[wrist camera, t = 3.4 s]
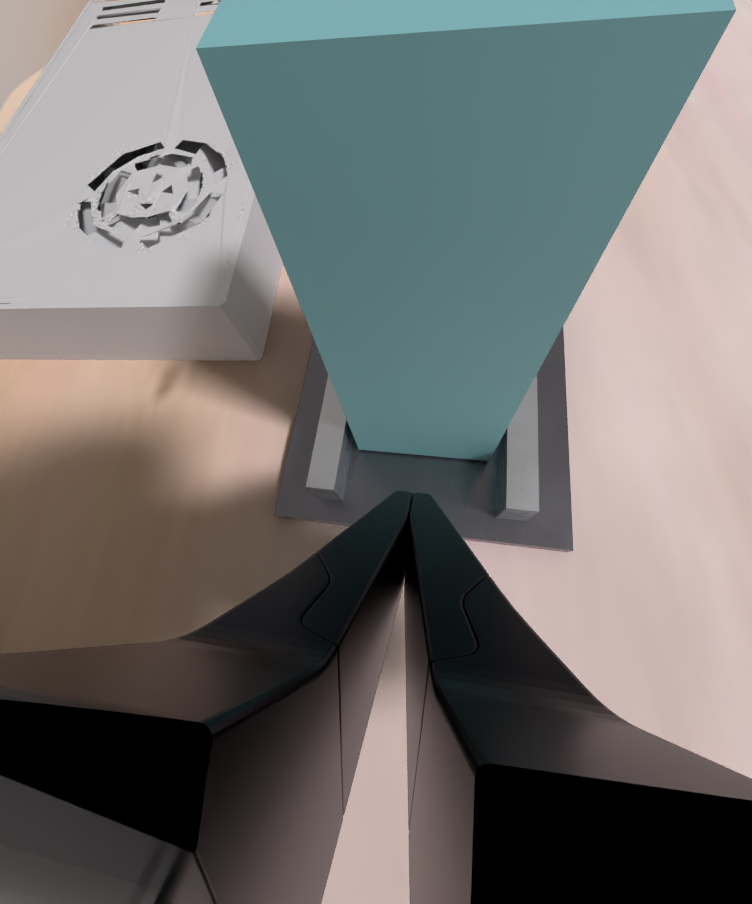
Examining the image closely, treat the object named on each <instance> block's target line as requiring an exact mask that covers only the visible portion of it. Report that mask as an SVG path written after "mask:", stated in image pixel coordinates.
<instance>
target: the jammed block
mask: <svg viewBox="0 0 752 904" xmlns="http://www.w3.org/2000/svg"><path fill="white" fill-rule="evenodd" d="M735 11H736V8H735V5H734V3H733V0H221V1H220V3H219V5H218V7H217V9H216V10H215V12H214V14H213V16H212V18H211V20H210V22H209V24H208V26H207V28H206V30H205V32H204V33H203V35H202V37H201V39H200V41H199V43H198V45H197V47H196V50H197V53H198V55H199V58H200V60H201V63H202V65H203V67H204V70H205V72H206V75H207V77H208V80H209V82H210V85H211V87H212V90H213V92H214V94H215V97H216V99H217V102H218V104H219V107H220V109H221V112H222V114H223V117H224V119H225V122H226V124H227V126H228V129H229V131H230V134H231V136H232V139H233V141H234V144H235V146H236V149H237V151H238V154H239V156H240V158H241V161H242V163H243V166H244V168H245V171H246V173H247V176H248V178H249V181H250V183H251V185H252V188H253V190H254V193H255V195H256V198H257V200H258V203H259V205H260V208H261V210H262V213H263V215H264V217H265V220H266V222H267V225H268V227H269V230H270V232H271V235H272V237H273V240H274V242H275V245H276V247H277V249H278V252H279V254H280V257H281V259H282V262H283V264H284V267H285V269H286V272H287V274H288V276H289V279H290V281H291V284H292V286H293V289H294V291H295V294H296V296H297V299H298V301H299V304H300V306H301V308H302V311H303V313H304V316H305V318H306V321H307V323H308V326H309V328H310V331H311V333H312V335H313V338H314V340H315V343H316V345H317V348H318V350H319V353H320V355H321V358H322V360H323V363H324V365H325V367H326V370H327V372H328V375H329V377H330V380H331V382H332V385H333V387H334V390H335V392H336V395H337V397H338V399H339V402H340V404H341V407H342V409H343V412H344V414H345V417H346V419H347V422H348V424H349V426H350V429H351V431H352V434H353V436H354V439H355V441H356V444H357V446H358V449H359V450H369V451H381V452H392V453H403V454H414V455H426V456H437V457H448V458H459V459H470V460H482V461H489V460H490V459H491V457H492V455H493V453H494V451H495V449H496V448H497V446H498V444H499V442H500V440H501V438H502V437H503V435H504V433H505V431H506V429H507V427H508V426H509V424H510V422H511V420H512V418H513V417H514V415H515V413H516V411H517V409H518V407H519V406H520V404H521V402H522V400H523V398H524V396H525V395H526V393H527V391H528V389H529V387H530V385H531V384H532V382H533V380H534V378H535V376H536V374H537V373H538V371H539V369H540V367H541V365H542V364H543V362H544V360H545V358H546V356H547V354H548V353H549V351H550V349H551V347H552V345H553V343H554V342H555V340H556V338H557V336H558V334H559V332H560V331H561V329H562V327H563V325H564V323H565V322H566V320H567V318H568V316H569V314H570V312H571V311H572V309H573V307H574V305H575V303H576V301H577V300H578V298H579V296H580V294H581V292H582V290H583V289H584V287H585V285H586V283H587V281H588V279H589V278H590V276H591V274H592V272H593V270H594V269H595V267H596V265H597V263H598V261H599V259H600V258H601V256H602V254H603V252H604V250H605V248H606V247H607V245H608V243H609V241H610V239H611V237H612V236H613V234H614V232H615V230H616V228H617V226H618V225H619V223H620V221H621V219H622V217H623V216H624V214H625V212H626V210H627V208H628V206H629V205H630V203H631V201H632V199H633V197H634V195H635V194H636V192H637V190H638V188H639V186H640V184H641V183H642V181H643V179H644V177H645V175H646V174H647V172H648V170H649V168H650V166H651V164H652V163H653V161H654V159H655V157H656V155H657V153H658V152H659V150H660V148H661V146H662V144H663V142H664V141H665V139H666V137H667V135H668V133H669V131H670V130H671V128H672V126H673V124H674V122H675V121H676V119H677V117H678V115H679V113H680V111H681V110H682V108H683V106H684V104H685V102H686V100H687V99H688V97H689V95H690V93H691V91H692V89H693V88H694V86H695V84H696V82H697V80H698V79H699V77H700V75H701V73H702V71H703V69H704V68H705V66H706V64H707V62H708V60H709V58H710V57H711V55H712V53H713V51H714V49H715V47H716V46H717V44H718V42H719V40H720V38H721V36H722V35H723V33H724V31H725V29H726V27H727V26H728V24H729V22H730V20H731V18H732V16H733V15H734V13H735Z"/></svg>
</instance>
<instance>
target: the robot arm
mask: <svg viewBox="0 0 752 904" xmlns="http://www.w3.org/2000/svg"><path fill="white" fill-rule="evenodd" d="M404 578H405V583H404ZM403 584H404V603H405V659H406V714H407V770H408V825H409V884H410V904H752V779H751V778H749V777H747V776H744V775H742V774H740V773H738V772H735V771H733V770H731V769H729V768H726V767H724V766H722V765H720V764H718V763H715V762H713V761H711V760H709V759H706V758H704V757H702V756H700V755H698V754H695V753H693V752H691V751H689V750H686V749H684V748H682V747H680V746H678V745H675V744H673V743H671V742H669V741H666V740H664V739H662V738H660V737H658V736H655V735H653V734H651V733H649V732H646V731H644V730H642V729H640V728H638V727H636V726H634V725H632V724H630V723H628V722H627V721H625V720H623V719H622V718H620V717H619V716H617V715H616V714H615V713H613V712H612V711H611V710H609V709H608V708H607V707H606V706H605V705H603V704H602V703H601V702H600V701H599V700H598V699H597V698H596V697H595V696H594V695H593V694H592V693H591V692H590V691H589V690H588V689H587V688H586V687H585V686H584V685H583V684H582V683H581V682H580V681H579V679H578V678H577V677H576V676H575V675H574V674H573V673H572V672H571V671H570V670H569V669H568V667H567V666H566V665H565V664H564V663H563V662H562V661H561V660H560V659H559V658H558V657H557V655H556V654H555V653H554V652H553V651H552V650H551V649H550V648H549V647H548V646H547V645H546V643H545V642H544V641H543V640H542V639H541V638H540V637H539V636H538V635H537V634H536V633H535V631H534V630H533V629H532V628H531V627H530V626H529V625H528V623H527V622H526V621H525V620H524V619H523V618H522V617H521V615H520V614H519V613H518V612H517V611H516V610H515V609H514V607H513V606H512V605H511V604H510V602H509V601H508V600H507V598H506V597H505V596H504V594H503V593H502V592H501V591H500V589H499V588H498V587H497V585H496V584H495V582H494V581H493V580H492V578H491V577H489V574H488V573H487V572H486V570H485V569H484V567H483V566H482V565H481V563H480V562H479V560H478V559H477V558H476V556H475V555H474V554H473V552H472V551H471V549H470V548H469V547H468V545H467V544H466V542H465V541H464V540H463V538H462V537H461V536H460V534H459V533H458V531H457V530H456V529H455V527H454V526H453V524H452V523H451V522H450V520H449V519H448V518H447V516H446V515H445V513H444V512H443V511H442V509H441V508H440V506H439V505H438V504H437V502H436V501H435V500H434V498H433V497H432V495H431V494H428V493H418V492H415V493H414V494H412V493H411V492H408V491H399V490H397V491H395V492H393V493H392V494H391V495H389V496H388V497H387V498H386V499H384V500H383V501H382V502H380V503H379V504H378V505H377V506H375V507H374V508H373V509H371V510H370V511H369V512H368V513H366V514H365V515H364V516H362V517H361V518H360V519H359V520H357V521H356V522H355V523H353V524H352V525H351V526H350V527H348V528H347V529H346V530H344V531H343V532H342V533H341V534H339V535H338V536H337V537H335V538H334V539H333V540H332V541H330V542H329V543H328V544H326V545H325V546H324V547H322V548H321V549H320V550H319V551H317V553H316V554H313V555H312V556H311V557H309V558H308V559H307V560H306V561H304V562H303V563H302V564H300V565H299V566H297V567H296V568H295V569H293V570H292V571H291V572H289V573H288V574H286V575H285V576H283V577H282V578H280V579H279V580H277V581H276V582H274V583H273V584H271V585H270V586H268V587H267V588H265V589H263V590H262V591H260V592H259V593H257V594H255V595H254V596H252V597H250V598H249V599H247V600H246V601H244V602H242V603H241V604H239V605H237V606H236V607H234V608H233V609H231V610H229V611H228V612H226V613H224V614H223V615H221V616H220V617H218V618H216V619H215V620H213V621H212V622H210V623H208V624H207V625H205V626H203V627H201V628H199V629H198V630H196V631H193V632H191V633H189V634H187V635H184V636H181V637H178V638H175V639H171V640H167V641H161V642H152V643H140V644H127V645H115V646H102V647H90V648H77V649H65V650H52V651H40V652H27V653H6V654H0V904H321V902H322V898H323V894H324V891H325V887H326V883H327V879H328V875H329V871H330V867H331V864H332V860H333V856H334V852H335V848H336V844H337V840H338V836H339V833H340V829H341V825H342V821H343V815H344V813H345V809H346V805H347V801H348V798H349V794H350V790H351V786H352V782H353V778H354V774H355V770H356V767H357V763H358V759H359V755H360V751H361V747H362V743H363V740H364V736H365V732H366V728H367V724H368V720H369V716H370V713H371V709H372V705H373V701H374V697H375V693H376V689H377V686H378V682H379V678H380V674H381V670H382V666H383V662H384V658H385V655H386V651H387V647H388V643H389V639H390V635H391V631H392V628H393V624H394V620H395V616H396V612H397V608H398V604H399V601H400V597H401V593H402V588H403Z"/></svg>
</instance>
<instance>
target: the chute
mask: <svg viewBox="0 0 752 904" xmlns="http://www.w3.org/2000/svg"><path fill="white" fill-rule="evenodd" d="M397 490H399V491H408V492H411V493H412V494H414V493H415V492H418V493H428V494H431V495H432V497H433V498H434V500H435V501H436V502H437V504H438V505H439V506H440V508H441V509H442V511H443V512H444V513H445V515H446V516H447V518H448V519H449V520H450V522H451V523H452V524H453V526H454V527H455V529H456V530H457V531H458V533H459V534H460V536H461V537H462V538H463V540H471V541H479V542H488V543H496V544H504V545H513V546H521V547H530V548H538V549H546V550H555V551H563V552H570V551H573V535H572V513H571V491H570V469H569V447H568V425H567V403H566V381H565V359H564V337H563V327H562V329H561V331H560V332H559V334H558V336H557V338H556V340H555V342H554V343H553V345H552V347H551V349H550V351H549V353H548V354H547V356H546V358H545V360H544V362H543V364H542V365H541V367H540V369H539V371H538V373H537V374H536V376H535V378H534V380H533V382H532V384H531V385H530V387H529V389H528V391H527V393H526V395H525V396H524V398H523V400H522V402H521V404H520V406H519V407H518V409H517V411H516V413H515V415H514V417H513V418H512V420H511V422H510V424H509V426H508V427H507V429H506V431H505V433H504V435H503V437H502V438H501V440H500V442H499V444H498V446H497V448H496V449H495V451H494V453H493V455H492V457H491V459H490V460H489V461H482V460H470V459H459V458H448V457H437V456H426V455H414V454H403V453H392V452H381V451H369V450H359V449H358V446H357V444H356V441H355V439H354V436H353V434H352V431H351V429H350V426H349V424H348V422H347V419H346V417H345V414H344V412H343V409H342V407H341V404H340V402H339V399H338V397H337V395H336V392H335V390H334V387H333V385H332V382H331V380H330V377H329V375H328V372H327V370H326V367H325V365H324V363H323V360H322V358H321V355H320V353H319V350H318V348H317V345H316V343H315V340H314V341H313V345H312V349H311V354H310V358H309V363H308V367H307V372H306V376H305V380H304V385H303V389H302V394H301V398H300V402H299V407H298V411H297V416H296V420H295V424H294V429H293V433H292V438H291V442H290V446H289V451H288V455H287V460H286V464H285V468H284V473H283V477H282V482H281V486H280V491H279V495H278V499H277V504H276V508H275V513H274V515H275V516H277V517H278V518H287V519H295V520H303V521H312V522H320V523H328V524H337V525H345V526H351V525H352V524H353V523H355V522H356V521H357V520H359V519H360V518H361V517H362V516H364V515H365V514H366V513H368V512H369V511H370V510H371V509H373V508H374V507H375V506H377V505H378V504H379V503H380V502H382V501H383V500H384V499H386V498H387V497H388V496H389V495H391V494H392V493H393V492H395V491H397Z"/></svg>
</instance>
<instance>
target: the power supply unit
mask: <svg viewBox="0 0 752 904" xmlns="http://www.w3.org/2000/svg"><path fill="white" fill-rule="evenodd" d="M220 1H221V0H120V1H112V2H107V1H106V0H89V2H88V3H87V5H86V6H85V8H84V9H83V11H82V12H81V14H80V15H79V17H78V18H77V20H76V21H75V23H74V24H73V26H72V27H71V29H70V31H69V32H68V34H67V35H66V36H65V38H64V40H63V41H62V43H61V44H60V46H59V47H58V49H57V50H56V52H55V53H54V55H53V56H52V58H51V59H50V61H49V62H48V64H47V65H46V67H45V68H44V70H43V71H42V73H41V74H40V76H39V77H38V79H37V80H36V82H35V83H34V85H33V86H32V88H31V89H30V91H29V93H28V94H27V96H26V97H25V99H24V100H23V102H22V103H21V105H20V106H19V108H18V109H17V111H16V112H15V114H14V115H13V117H12V118H11V120H10V121H9V123H8V124H7V126H6V127H5V129H4V130H3V132H2V133H1V135H0V359H32V360H216V361H259V360H260V359H262V358H263V354H264V349H265V345H266V340H267V335H268V331H269V326H270V322H271V317H272V312H273V308H274V303H275V298H276V294H277V289H278V284H279V280H280V275H281V270H282V266H283V262H282V259H281V257H280V254H279V252H278V249H277V247H276V245H275V242H274V240H273V237H272V235H271V232H270V230H269V227H268V225H267V222H266V220H265V217H264V215H263V213H262V210H261V208H260V205H259V203H258V200H257V198H256V195H255V193H254V190H253V188H252V185H251V183H250V181H249V178H248V176H247V173H246V171H245V168H244V166H243V163H242V161H241V158H240V156H239V154H238V151H237V149H236V146H235V144H234V141H233V139H232V136H231V134H230V131H229V129H228V126H227V124H226V122H225V119H224V117H223V114H222V112H221V109H220V107H219V104H218V102H217V99H216V97H215V94H214V92H213V90H212V87H211V85H210V82H209V80H208V77H207V75H206V72H205V70H204V67H203V65H202V63H201V60H200V58H199V55H198V53H197V50H196V47H197V45H198V43H199V41H200V39H201V37H202V35H203V33H204V32H205V30H206V28H207V26H208V24H209V22H210V20H211V18H212V16H213V14H210V15H201V16H195V15H196V14H197V13H200V12H208V11H215V10H216V9H217V7H218V5H219V3H220ZM155 18H156V19H155ZM146 19H155V20H154V21H151V22H143V23H135V24H127V25H119V23H118V22H127V21H136V20H146Z"/></svg>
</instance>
